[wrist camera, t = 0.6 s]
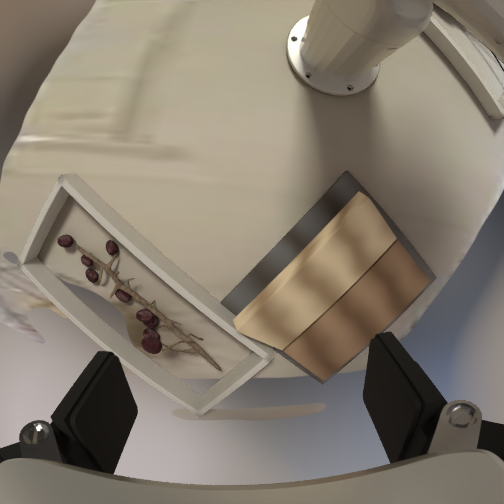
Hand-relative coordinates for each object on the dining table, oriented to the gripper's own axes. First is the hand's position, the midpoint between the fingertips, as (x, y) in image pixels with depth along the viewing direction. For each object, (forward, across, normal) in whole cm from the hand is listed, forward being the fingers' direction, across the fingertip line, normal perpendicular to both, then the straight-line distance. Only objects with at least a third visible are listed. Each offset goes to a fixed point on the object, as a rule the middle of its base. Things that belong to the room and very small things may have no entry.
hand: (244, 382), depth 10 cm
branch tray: (+30, +17, +9) cm, 36 cm away
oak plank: (+28, -8, +6) cm, 29 cm away
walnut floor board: (+30, -12, +10) cm, 34 cm away
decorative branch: (+31, +16, +9) cm, 36 cm away
